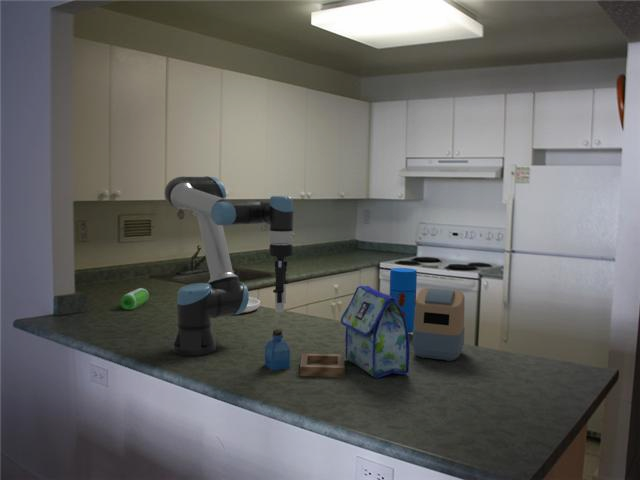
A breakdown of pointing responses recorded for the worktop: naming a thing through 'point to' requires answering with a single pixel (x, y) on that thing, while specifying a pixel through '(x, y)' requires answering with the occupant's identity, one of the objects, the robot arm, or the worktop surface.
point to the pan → (251, 305)
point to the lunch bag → (376, 333)
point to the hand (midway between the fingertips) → (280, 307)
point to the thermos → (404, 292)
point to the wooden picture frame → (322, 365)
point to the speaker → (134, 299)
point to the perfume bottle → (277, 352)
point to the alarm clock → (439, 324)
